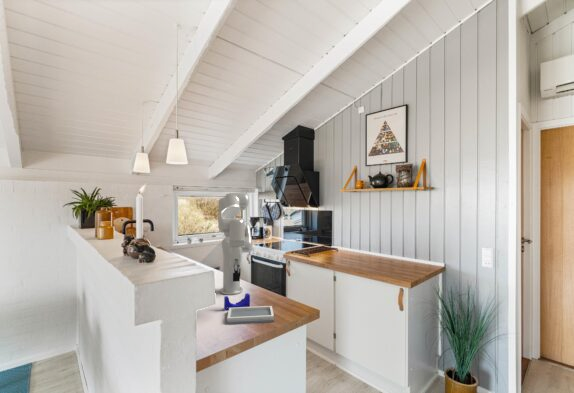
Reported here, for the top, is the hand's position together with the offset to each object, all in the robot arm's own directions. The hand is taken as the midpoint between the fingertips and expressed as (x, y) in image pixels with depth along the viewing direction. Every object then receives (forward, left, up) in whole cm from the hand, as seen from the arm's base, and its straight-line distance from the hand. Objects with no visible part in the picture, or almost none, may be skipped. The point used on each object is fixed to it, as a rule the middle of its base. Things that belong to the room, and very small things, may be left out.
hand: (236, 278), depth 138 cm
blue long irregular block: (0, 0, -14) cm, 14 cm away
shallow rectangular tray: (+12, +7, -14) cm, 20 cm away
